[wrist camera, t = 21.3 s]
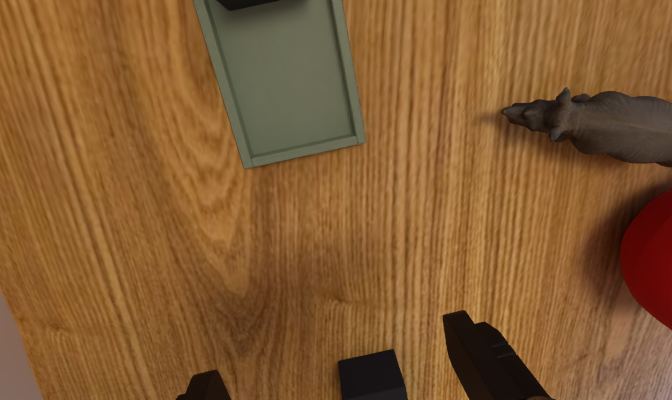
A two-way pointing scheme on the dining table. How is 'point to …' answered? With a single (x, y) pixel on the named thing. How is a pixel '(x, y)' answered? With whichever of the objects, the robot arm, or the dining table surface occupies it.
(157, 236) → the dining table surface
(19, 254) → the dining table surface
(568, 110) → the rhino figurine
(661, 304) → the tomato
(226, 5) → the pad
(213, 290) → the dining table surface
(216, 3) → the backing tray
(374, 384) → the pad
